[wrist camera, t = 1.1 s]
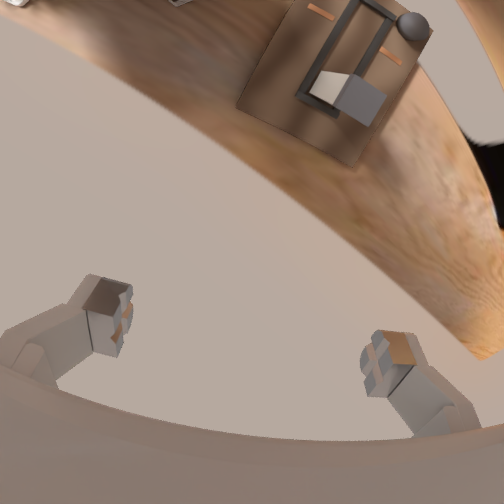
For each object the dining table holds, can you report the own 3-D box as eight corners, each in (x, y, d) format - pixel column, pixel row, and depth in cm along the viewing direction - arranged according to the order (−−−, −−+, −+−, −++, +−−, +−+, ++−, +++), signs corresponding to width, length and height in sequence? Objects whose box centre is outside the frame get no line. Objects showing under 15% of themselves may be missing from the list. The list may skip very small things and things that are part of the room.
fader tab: (307, 92, 33) (335, 107, 23) (321, 69, 31) (355, 74, 21) (331, 106, 34) (368, 127, 24) (344, 83, 32) (387, 95, 22)
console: (235, 106, 36) (234, 110, 33) (319, -40, 25) (326, -49, 22) (349, 164, 40) (357, 173, 37) (427, 30, 29) (441, 30, 26)
